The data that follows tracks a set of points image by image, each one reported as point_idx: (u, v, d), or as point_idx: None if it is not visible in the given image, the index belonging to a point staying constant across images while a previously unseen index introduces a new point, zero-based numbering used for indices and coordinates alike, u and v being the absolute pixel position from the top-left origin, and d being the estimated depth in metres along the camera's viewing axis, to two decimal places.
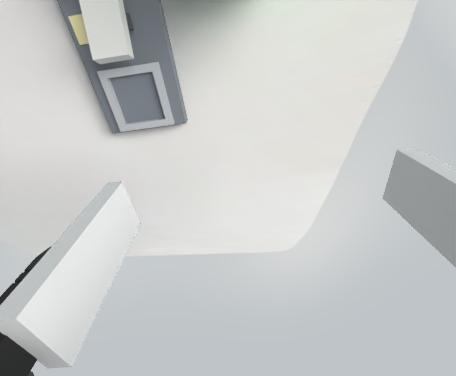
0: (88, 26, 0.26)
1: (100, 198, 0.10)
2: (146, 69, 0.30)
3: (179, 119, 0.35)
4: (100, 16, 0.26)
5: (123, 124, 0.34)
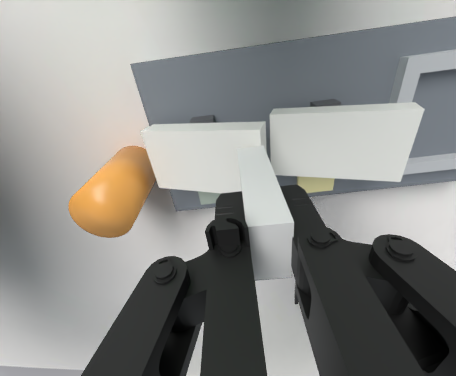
0: (338, 173, 0.15)
1: (244, 158, 0.11)
2: (411, 85, 0.14)
3: None
4: (328, 149, 0.14)
5: None
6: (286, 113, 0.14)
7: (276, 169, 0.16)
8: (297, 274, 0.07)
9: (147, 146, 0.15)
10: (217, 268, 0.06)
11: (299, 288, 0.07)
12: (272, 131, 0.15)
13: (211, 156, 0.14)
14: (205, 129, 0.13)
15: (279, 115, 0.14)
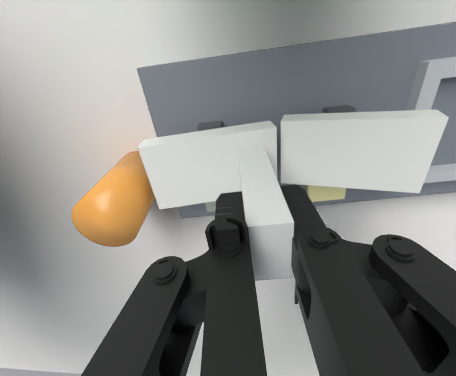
0: (353, 182, 0.14)
1: (244, 158, 0.11)
2: (431, 90, 0.14)
3: None
4: (342, 158, 0.14)
5: None
6: (298, 120, 0.13)
7: (286, 177, 0.16)
8: (297, 274, 0.07)
9: (146, 164, 0.13)
10: (217, 268, 0.06)
11: (299, 288, 0.07)
12: (283, 138, 0.14)
13: (225, 161, 0.14)
14: (218, 134, 0.13)
15: (291, 122, 0.13)
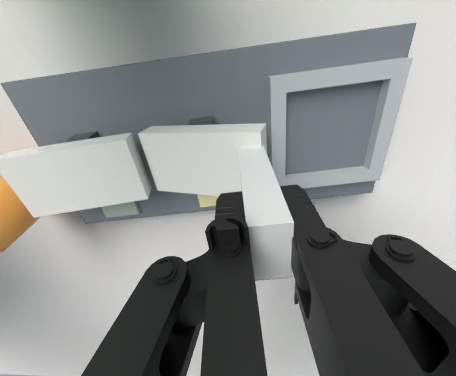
0: (211, 190, 0.15)
1: (244, 158, 0.11)
2: (280, 103, 0.15)
3: (399, 41, 0.14)
4: (196, 168, 0.14)
5: (367, 171, 0.17)
6: (152, 132, 0.14)
7: (160, 185, 0.16)
8: (297, 274, 0.07)
9: (5, 175, 0.14)
10: (217, 268, 0.06)
11: (299, 288, 0.07)
12: (145, 149, 0.15)
13: (85, 172, 0.14)
14: (72, 146, 0.14)
15: (146, 134, 0.14)
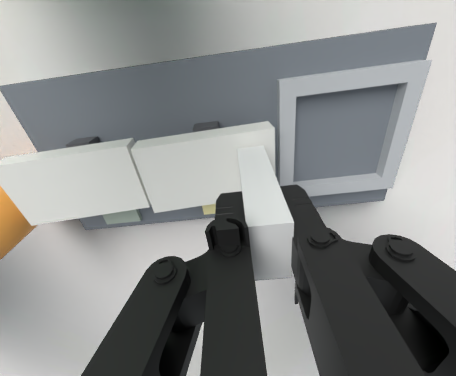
0: None
1: (244, 158, 0.11)
2: (289, 108, 0.14)
3: (418, 42, 0.13)
4: (205, 176, 0.13)
5: (380, 179, 0.17)
6: (149, 146, 0.12)
7: (158, 206, 0.14)
8: (297, 274, 0.07)
9: (1, 182, 0.13)
10: (217, 268, 0.06)
11: (299, 288, 0.07)
12: (140, 167, 0.13)
13: (84, 179, 0.14)
14: (70, 153, 0.13)
15: (142, 148, 0.12)
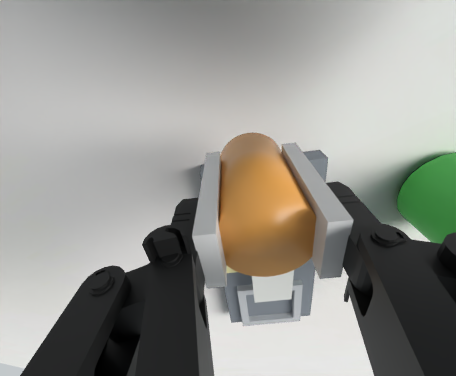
0: (256, 286, 0.25)
1: (211, 163, 0.11)
2: None
3: (304, 313, 0.34)
4: (271, 281, 0.24)
5: (248, 321, 0.33)
6: None
7: None
8: (353, 271, 0.07)
9: None
10: (157, 280, 0.06)
11: (353, 285, 0.07)
12: None
13: None
14: None
15: None
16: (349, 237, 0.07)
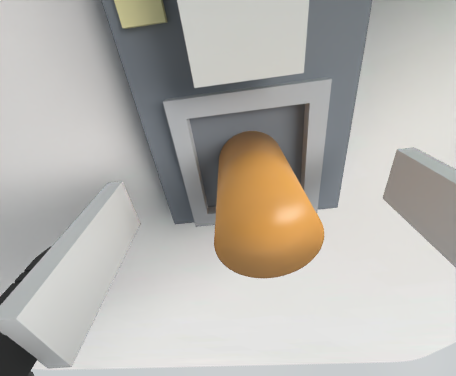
0: None
1: (100, 198, 0.10)
2: (297, 97, 0.11)
3: (326, 200, 0.16)
4: None
5: (205, 213, 0.15)
6: None
7: None
8: None
9: None
10: None
11: None
12: None
13: None
14: None
15: None
16: None
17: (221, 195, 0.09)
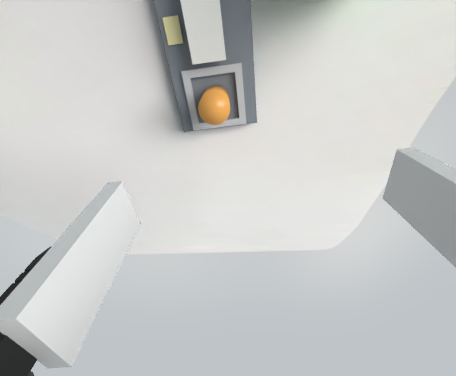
0: (189, 31, 0.27)
1: (100, 198, 0.10)
2: (230, 69, 0.31)
3: (251, 118, 0.36)
4: (201, 21, 0.26)
5: (197, 123, 0.35)
6: None
7: None
8: None
9: None
10: None
11: None
12: None
13: None
14: None
15: None
16: None
17: None
